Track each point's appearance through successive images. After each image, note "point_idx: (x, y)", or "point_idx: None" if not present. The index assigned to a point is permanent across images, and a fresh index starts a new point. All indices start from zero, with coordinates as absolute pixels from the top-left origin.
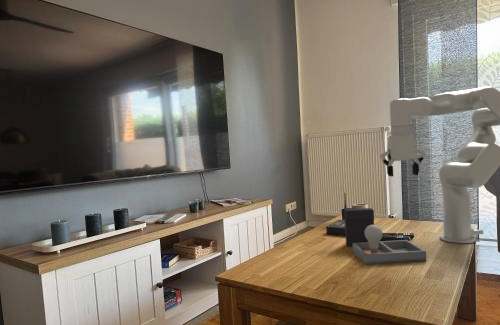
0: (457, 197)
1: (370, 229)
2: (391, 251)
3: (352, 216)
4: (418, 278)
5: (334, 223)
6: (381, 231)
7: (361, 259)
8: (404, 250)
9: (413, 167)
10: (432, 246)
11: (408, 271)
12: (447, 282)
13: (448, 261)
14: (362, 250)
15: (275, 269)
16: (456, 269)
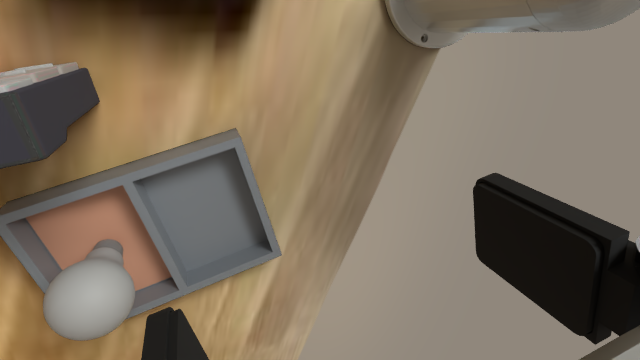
0: (585, 26)
1: (74, 339)
2: (172, 276)
3: None
4: (233, 353)
5: None
6: (129, 310)
7: None
8: (222, 176)
9: (550, 249)
10: (327, 86)
11: (215, 322)
12: (288, 351)
13: (329, 228)
14: None
15: None
16: (328, 277)
